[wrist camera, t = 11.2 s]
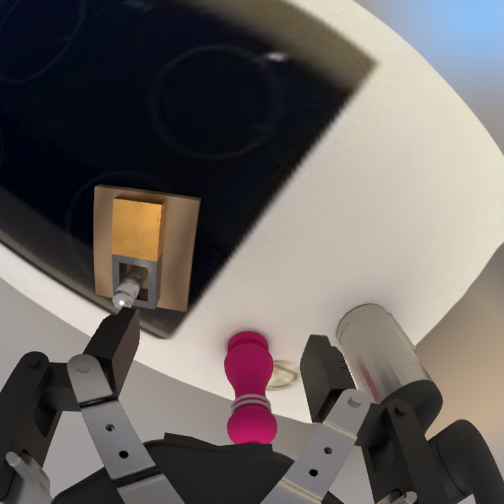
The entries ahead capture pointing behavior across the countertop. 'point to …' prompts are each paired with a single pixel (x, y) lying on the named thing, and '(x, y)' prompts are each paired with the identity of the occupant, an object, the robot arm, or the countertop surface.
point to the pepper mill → (250, 389)
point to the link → (138, 242)
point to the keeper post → (130, 287)
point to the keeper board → (174, 246)
